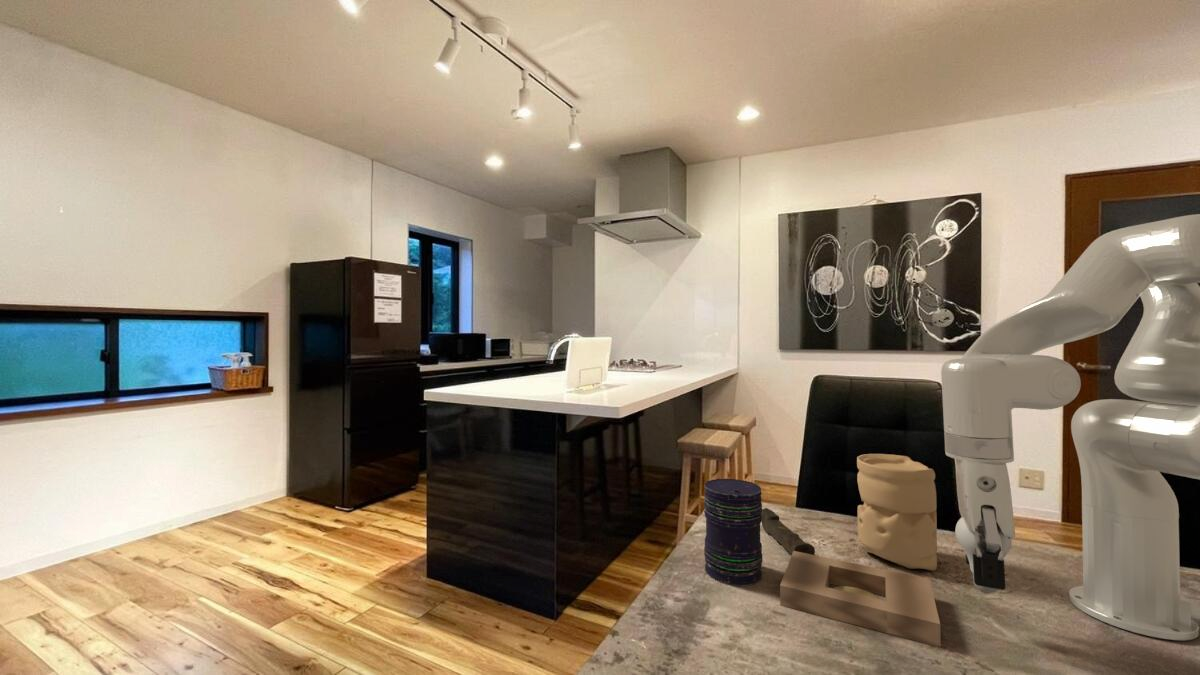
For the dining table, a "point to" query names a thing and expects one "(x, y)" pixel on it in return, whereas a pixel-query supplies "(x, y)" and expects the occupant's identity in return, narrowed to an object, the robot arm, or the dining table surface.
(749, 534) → the navy ridged cylinder
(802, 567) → the holder
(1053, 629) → the dining table surface
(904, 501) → the container
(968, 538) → the lightbulb
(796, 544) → the hand tool
